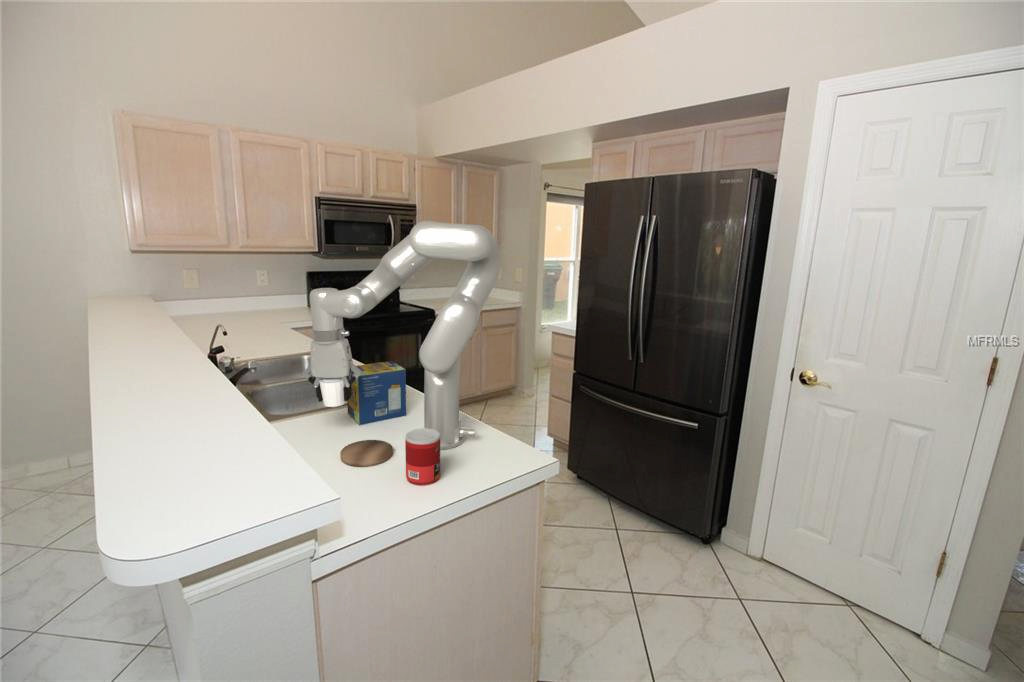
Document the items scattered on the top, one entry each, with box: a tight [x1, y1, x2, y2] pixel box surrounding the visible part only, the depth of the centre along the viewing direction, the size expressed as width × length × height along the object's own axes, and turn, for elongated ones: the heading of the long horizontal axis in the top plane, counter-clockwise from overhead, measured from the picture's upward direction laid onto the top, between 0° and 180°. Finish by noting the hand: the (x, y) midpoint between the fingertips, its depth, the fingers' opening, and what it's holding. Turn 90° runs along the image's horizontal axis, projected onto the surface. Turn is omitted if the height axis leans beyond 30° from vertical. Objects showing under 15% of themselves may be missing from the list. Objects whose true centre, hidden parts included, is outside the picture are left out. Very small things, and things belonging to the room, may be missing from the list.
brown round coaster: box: [339, 439, 394, 468], centre depth 123 cm, size 13×13×1 cm
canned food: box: [404, 427, 441, 486], centre depth 112 cm, size 8×8×11 cm
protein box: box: [346, 360, 407, 426], centre depth 147 cm, size 10×15×16 cm
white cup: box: [319, 378, 347, 408], centre depth 129 cm, size 7×7×7 cm
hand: (334, 399), depth 130 cm, fingers closed on white cup, 6 cm apart
